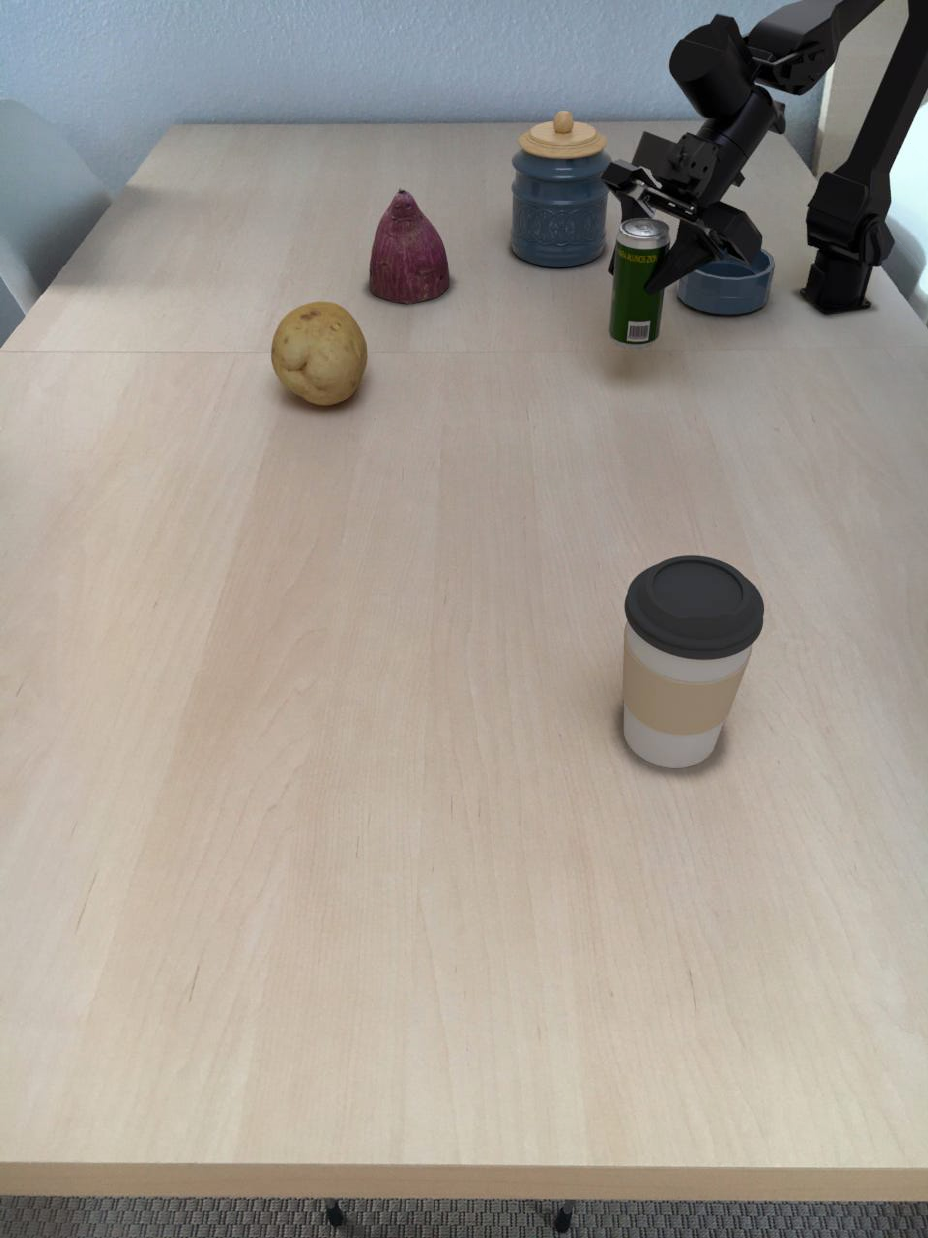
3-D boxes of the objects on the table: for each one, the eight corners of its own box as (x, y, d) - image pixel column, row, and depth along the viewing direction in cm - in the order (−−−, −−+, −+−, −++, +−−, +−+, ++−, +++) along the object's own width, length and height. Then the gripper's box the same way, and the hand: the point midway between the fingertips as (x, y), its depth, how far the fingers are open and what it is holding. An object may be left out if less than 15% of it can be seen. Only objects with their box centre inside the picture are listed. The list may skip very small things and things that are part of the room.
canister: (496, 261, 134) (497, 121, 122) (528, 224, 143) (532, 91, 131) (589, 275, 130) (599, 133, 118) (616, 237, 139) (628, 100, 127)
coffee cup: (599, 692, 77) (615, 542, 67) (713, 683, 78) (747, 533, 67) (622, 785, 71) (644, 636, 60) (746, 775, 71) (790, 625, 61)
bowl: (741, 273, 130) (748, 235, 127) (783, 310, 122) (791, 271, 119) (662, 284, 128) (667, 246, 125) (699, 323, 120) (705, 284, 117)
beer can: (665, 347, 105) (679, 235, 96) (616, 353, 104) (626, 241, 96) (649, 323, 109) (661, 214, 100) (602, 329, 108) (610, 219, 100)
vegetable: (438, 327, 128) (443, 228, 115) (360, 311, 128) (356, 211, 115) (456, 273, 133) (463, 173, 120) (382, 258, 134) (380, 157, 121)
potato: (374, 362, 115) (366, 279, 108) (366, 421, 106) (358, 335, 99) (286, 363, 115) (273, 281, 108) (271, 423, 106) (256, 337, 99)
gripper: (621, 72, 97) (530, 213, 101) (763, 121, 86) (655, 277, 89) (671, 138, 106) (585, 266, 109) (806, 191, 95) (706, 331, 98)
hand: (628, 283), depth 101 cm, fingers closed on beer can, 5 cm apart
